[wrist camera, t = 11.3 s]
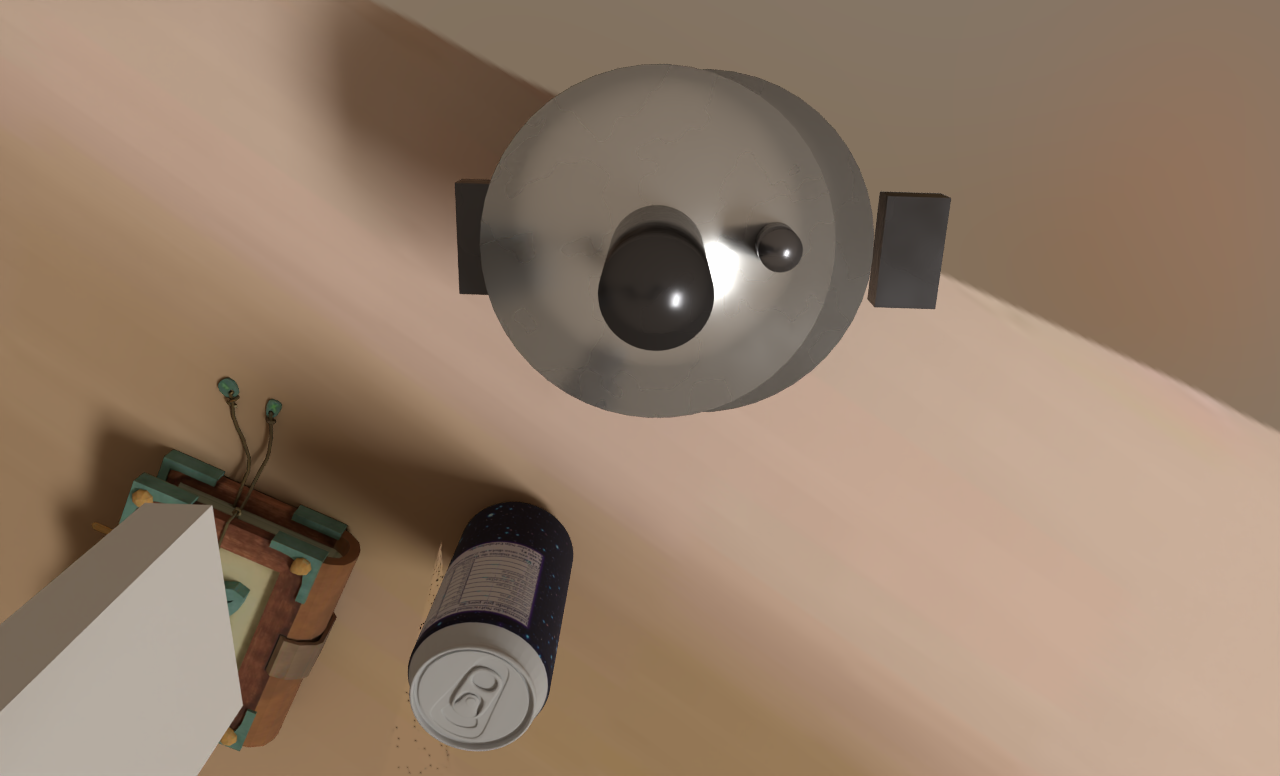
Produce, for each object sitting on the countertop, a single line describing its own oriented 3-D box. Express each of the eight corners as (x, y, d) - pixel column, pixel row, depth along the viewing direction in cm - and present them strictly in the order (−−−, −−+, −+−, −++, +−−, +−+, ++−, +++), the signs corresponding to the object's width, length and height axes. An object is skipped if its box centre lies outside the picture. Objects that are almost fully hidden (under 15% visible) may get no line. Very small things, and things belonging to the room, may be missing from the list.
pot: (872, 348, 41) (926, 419, 33) (499, 336, 42) (458, 404, 33) (905, 75, 37) (977, 76, 29) (492, 63, 37) (443, 61, 29)
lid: (510, 419, 33) (473, 505, 27) (460, 81, 29) (402, 85, 23) (832, 395, 33) (876, 477, 26) (827, 47, 29) (877, 40, 22)
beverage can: (444, 557, 46) (373, 717, 34) (498, 473, 44) (442, 613, 33) (539, 609, 47) (500, 782, 35) (595, 529, 45) (574, 683, 34)
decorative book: (412, 456, 44) (383, 503, 39) (295, 712, 50) (257, 779, 45) (153, 339, 42) (90, 373, 38) (61, 618, 48) (-3, 678, 43)
